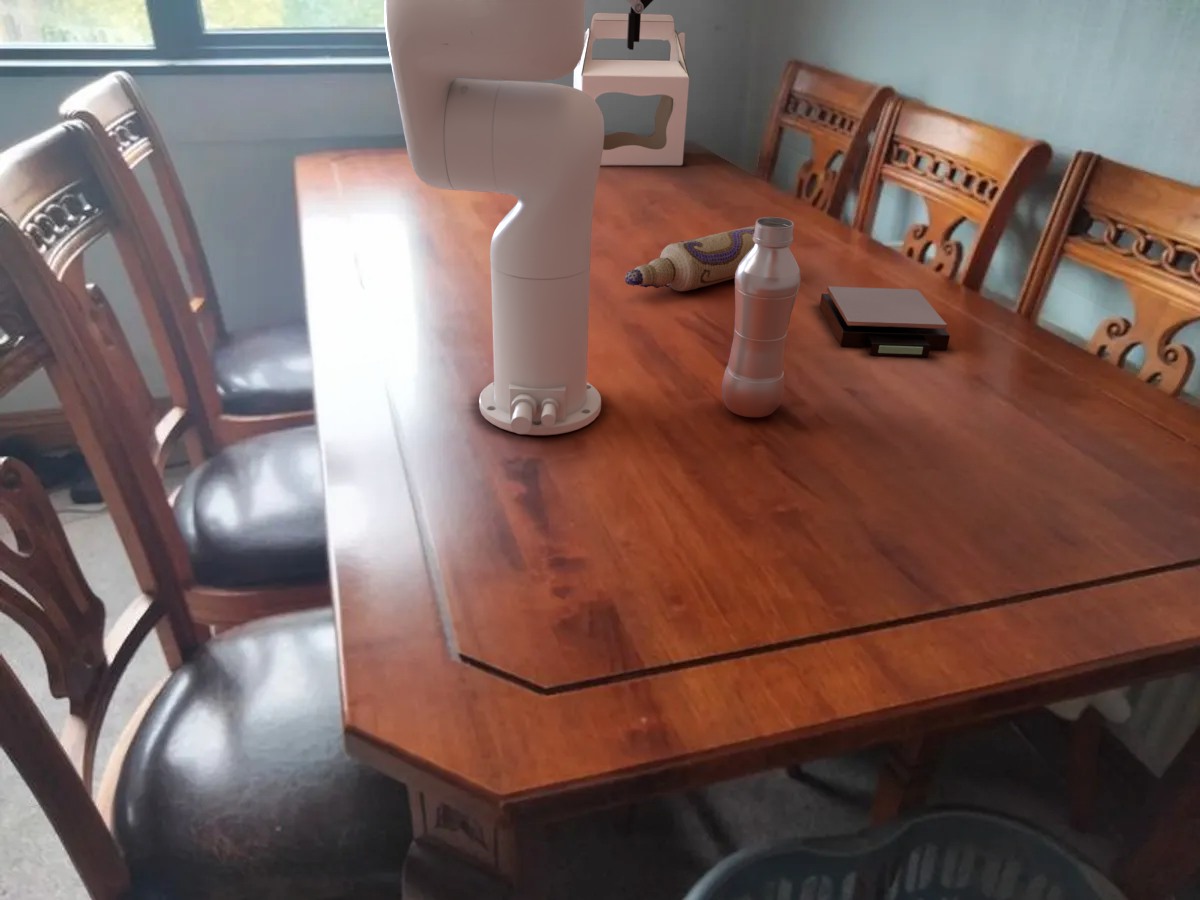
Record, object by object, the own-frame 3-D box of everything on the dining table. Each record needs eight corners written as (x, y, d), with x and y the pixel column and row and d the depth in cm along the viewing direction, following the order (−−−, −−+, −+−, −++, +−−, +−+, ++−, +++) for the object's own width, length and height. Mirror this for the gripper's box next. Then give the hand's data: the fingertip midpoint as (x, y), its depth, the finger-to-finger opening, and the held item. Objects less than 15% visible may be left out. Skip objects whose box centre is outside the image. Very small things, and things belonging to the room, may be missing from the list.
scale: (953, 359, 109) (959, 334, 107) (845, 355, 109) (849, 330, 107) (915, 310, 122) (920, 288, 121) (819, 307, 122) (823, 284, 120)
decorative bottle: (745, 261, 138) (750, 217, 134) (780, 276, 132) (787, 231, 129) (607, 292, 124) (609, 244, 121) (640, 310, 119) (644, 261, 116)
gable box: (578, 165, 187) (581, 15, 173) (571, 151, 198) (573, 9, 184) (683, 165, 190) (695, 18, 176) (670, 151, 201) (680, 11, 187)
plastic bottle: (709, 415, 94) (729, 225, 84) (732, 390, 100) (754, 208, 89) (768, 431, 92) (797, 237, 82) (789, 404, 97) (818, 219, 87)
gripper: (516, -123, 99) (518, 47, 108) (674, -116, 100) (663, 53, 108) (521, -119, 106) (522, 41, 114) (669, -113, 106) (659, 46, 115)
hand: (591, 47), depth 111 cm, fingers open, 9 cm apart
